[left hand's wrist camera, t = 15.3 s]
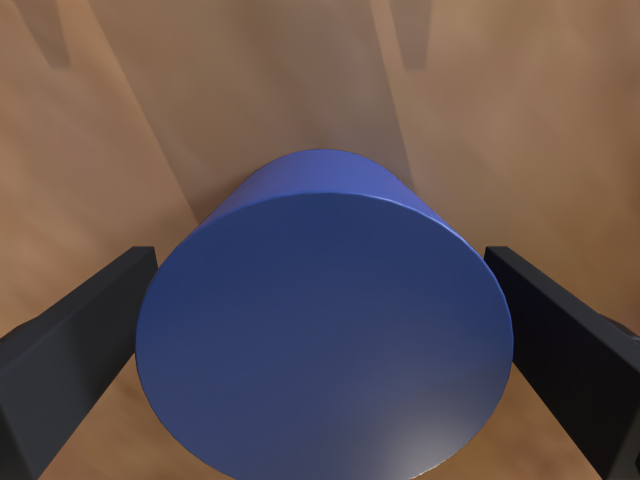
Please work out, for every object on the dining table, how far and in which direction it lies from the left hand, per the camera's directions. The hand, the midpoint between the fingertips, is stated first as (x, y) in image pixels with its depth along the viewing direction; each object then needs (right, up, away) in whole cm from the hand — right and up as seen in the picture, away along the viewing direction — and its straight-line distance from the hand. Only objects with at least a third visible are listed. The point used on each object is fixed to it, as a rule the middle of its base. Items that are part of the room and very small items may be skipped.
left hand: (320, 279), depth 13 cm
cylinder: (0, +1, +2) cm, 2 cm away
